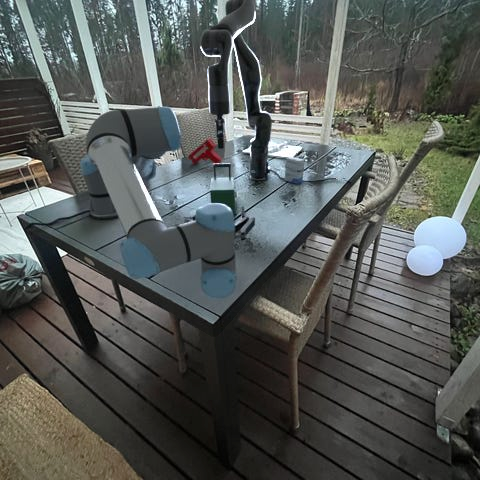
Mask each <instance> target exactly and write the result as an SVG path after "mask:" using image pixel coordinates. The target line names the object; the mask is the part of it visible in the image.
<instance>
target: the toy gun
mask: <svg viewBox="0 0 480 480" xmlns="http://www.w3.org/2000/svg"><path fill="white" fill-rule="evenodd" d="M216 147H217V145H216V143H215V142H214V141H213V140H212V139H211V138H208V139H206V140H205V141H204V142H203V143H201V144H200V145H199V146H198V147H197V148H196V149H194V151H192V152H191V153H190V154H188V159H189V160H190V161H191V162H192V163H193V164H197V163H198V162H200V161H201V160H202V161H204V162H205V161H207V160H209V161H211V162H212V163H213V164H222V159H223V158H222V156H221V155H219V154H218V153H217V152H215V149H216Z"/></svg>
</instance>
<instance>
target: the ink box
mask: <svg viewBox="0 0 480 480" xmlns="http://www.w3.org/2000/svg"><path fill="white" fill-rule="evenodd" d="M305 162H306V159H304V158H299V157H296V156H294V157H289V158H287V159H286V158H285V169H284V178H285V180H284V181H285V182H289V183H293V184H295V185H298V184H300V183H303V182H302V180H304V173H305V171H304V170H305Z"/></svg>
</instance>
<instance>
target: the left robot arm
mask: <svg viewBox="0 0 480 480" xmlns="http://www.w3.org/2000/svg"><path fill="white" fill-rule="evenodd" d="M181 145H182V138H181V130H180V126H179V121H178V120H177V116H176V113H175V112H174V110H173V109H172V108H171V107H169V106H160V105H157V106H156V107H141V108H126V109H114V110H113V109H112V110H110V111H106V112H104V113H103V114H101V115H99V116H98V117H97V118H96V119H95V120H94V121H93V122H92V123H91V125H90V127H89V129H88V131H87V134H86V138H85V150H86V154H87V156H85V157H83V158H82V159H81V160H80V162H79V167H80V170H81V175H82V176H83V179H84V182H85V185H86V188H87V192H88V195H89V209H87V210H84V211H81V212H77V213H76V214H73V215H70V216H63V217H59V218H56V219H54V220H53V221H51V222H45V223H44V222H31V223H29V224H28V225H26V227H25V228H26V229H29V228H31V227H33V226H43V227H46V226H47V227H48V226H52V225H55V224H56V223H58V222H60V221H64V220H66V221H67V220H71V219H73V218H76V217H79V216H82V215H84V214H87V213H90V217H92V218H94V219H97V220H109V219H116V218H118V220H119V222H120V225H121V227H122V229H123V232H124V234H125V237H126V239H125V240H121V241H120V242H119V250H120V254H121V257H122V261H123V263H124V267H125V268H126V271H127V274H128V276H129V277H130V278H131V279H133V280H139V279H144V278H147V277H151V276H157V275H159V274H160V273H162V272H165V271H168V270H170V269H173V268H176V267H178V266H181V265H184V264H187V263H190V262H194V261H196V260H199V259H200V264H201V275H200V287H201V290H202V291H203V292H204V294H205V295H207V296H208V297H211V298H214V299H220V298H221V299H223V298H227V297H228V296H230V295H232V294H233V293H234V291H235V289H236V286H237V271H236V270H237V269H236V265H237V264H236V247H235V246H236V245H235V240H236V239H240V241H242V242H243V241H246V237H247V235H249V233H250V232H251V231H252V230H253V228H254V227H255V226H256V217H255V216H251V217H250V216H249V213H248V212H245V207H244V206H241V207H240V208H241V213H240V215H241V218H240V219H239V220H237V221H236V222H235V216H234V215H233V212H232V210H231V209H230V208H229V207H228V206H226V205H224V204H219V203H211V202H210V203H205V204H203V205H202V206H200V207H198V208H197V209H196V211H195V214H194V215H192V219H191V218H187V219H186V222H185V223H181V224H178V225H173V226H170V227H167V226H166V224H165V221H164V220H163V218H162V216H161V214H160V212H159V210H158V208H157V207H156V204H155V201H154V200H153V199H152V196H151V195H150V193H149V191H148V189H147V187H146V185H145V183H144V182H145V181H150V180H152V179H154V178H155V177H156V174H157V165H156V161H155V160H158V159H160V158H161V157H163V156H164V155H165V154H166V153H167V152H175V151H178V150H180V148H181Z"/></svg>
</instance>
